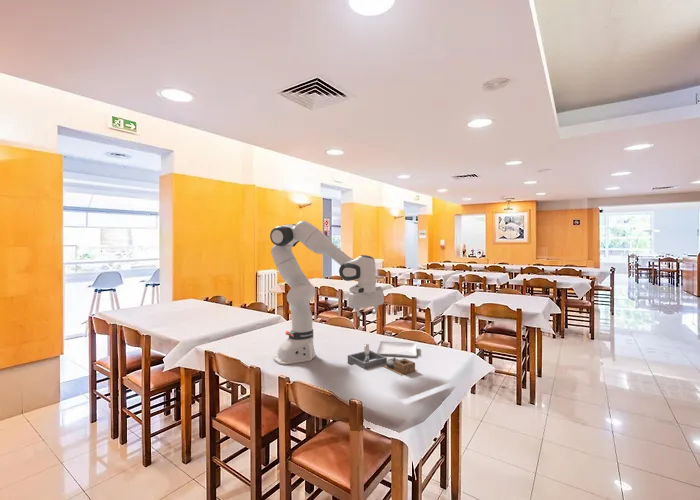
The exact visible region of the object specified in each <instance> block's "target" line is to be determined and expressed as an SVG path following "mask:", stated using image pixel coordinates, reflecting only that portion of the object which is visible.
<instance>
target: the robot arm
mask: <svg viewBox="0 0 700 500" xmlns="http://www.w3.org/2000/svg"><path fill="white" fill-rule="evenodd" d="M269 237H270V238H269V239H270V242H271V243H272V244H273V246H272V247H271V248H270V249H271V250H270V253H271V257H272V260H273V262H274V264H275V266H276V269H277V270H278V272H279V275H280V277H281V279H282V281H284V282H285V283H286V284H287V285H288V286H289V288H290V289H289V290H288V292H287V294H286V300H287V301H286V302H287V303H288V304H289V310H290V314H291V315H290V316H291V330H290V331H289V330H286V331H285V333H284V334H285V335H286V336H288V338H287V339H285V341H283V342H282V343H281V344H280V345H279V347H278V349H277V354H274V355H273V357H272V359H273V361H274V362H275V363H277V364H279V365H285V366H286V365H290V364H292V365H293V364H298V363H304V362H310V361H312V360H314V358H315V357H316V355H317V354H316V351H315V346H314V329H313V313H312V310H311V306H310V302H311V301H312V300H313V299H314V297H315V295H316V288H315V286H314V285H313V284H312V283H311V281H310V280H309V279H308V277H307V276H306V275H305V273H304V272H303V270H302V269H301V267H300V264H299V262H298V261H297V258H296V257H295V254H294V253H293V249H292V248H294V247H295V246H297V244H298V243H299V242H300V243H302V244H303V246H305V247H306V248H307V249H308V250H309V251H311V252H313V253H315V254H316V255H323V256H327V257H329V258H330V259H332V260H333V261H334V262H336V263H337V264H338V265H340V267H339V269H338V274H339V276H340V278H341V279H342V280H344V281H346V282H350V281H351V282H352V281H355V280H356V281H357V284H355V285H353V286H350V287H349V289H348V290H349V292H350V293H348V299H347V301H348V303H347V304H348V307H349V308H350V309H352V310H353V309H354V310H355V312H356V316H357V318H361V317H362V312H360V310H361V308H367V307H373V309H372V310H371V315H377V310H378V308H379V306H381V305H384V304H385V295H384V288H383V287H382V286H377V284H376V274H377V273H376V270H377V269H376V262H375V261H376V260H375V258H374V257H373V256H371V255H366V254H361V255H359V256H357V257H355V258H351V257H350V256H349V255H347V254H346V252H344V251H342V250H341V249H340V248H339V247H337V245H336V244H334V243H333V242H332V241H331V240H330V239H329V238H328V236H326V234H324V233H323V231H322V230H320V229H319V228H317V227H316V226H315V225H314V224H312V223H310V222H309V221H307V220H301V221H299V222H297V223H296V224H294V223H290V224H289V223H287V224H283V225H278V226H275V227H273V228H272V230H271V231H270V234H269Z"/></svg>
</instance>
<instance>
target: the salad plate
mask: <svg viewBox="0 0 700 500" xmlns="http://www.w3.org/2000/svg"><path fill="white" fill-rule="evenodd" d="M417 347H418V345H417V343H416V342H404V341H391V340H390V341H388V340H381V341H379V344H378V347H377V349H376V352H375V353H377V354H380V355H382V356H384V357H388V356H389V357H390V356H391V357H402V358H403V357H404V358H417V356H418V355H417ZM402 352H403V353H404V352H406V353H410V354H413V355H410V354H400V353H402Z"/></svg>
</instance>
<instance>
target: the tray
mask: <svg viewBox="0 0 700 500" xmlns="http://www.w3.org/2000/svg"><path fill="white" fill-rule="evenodd" d="M387 360H388V358H387V356H382V355H380V354H377V353H376V352H375V351H373V350H370V349H369V362H365V361H364V351H361V352H357V353H351V354H348V355H347V364H349V365H350V366H353V365H356V366H358V367H360V368H362V369H364V370H365V369H370V368H372V367H373V368H374V367H377V366H380V365H385V364H386V362H387Z"/></svg>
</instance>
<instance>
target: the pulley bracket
mask: <svg viewBox="0 0 700 500" xmlns="http://www.w3.org/2000/svg"><path fill="white" fill-rule="evenodd" d="M381 367H382V368H385V369H387V370H388V371H391V372H393V373H395V374H397V375H399V376H401V377H402V376H407V375H408V374H412V373H415V372H418V369H416V362H414V361H412V360H409V359H407V358H401V359H398V358H396V356H392V358H387V362H386V363H385V364H383V365H381Z"/></svg>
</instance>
